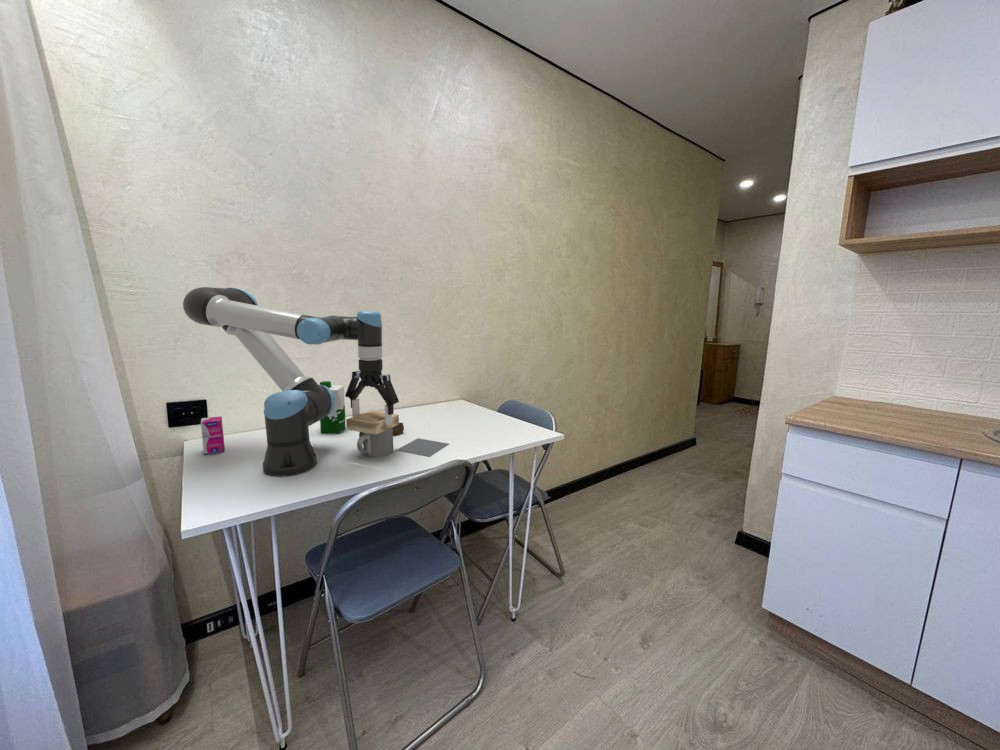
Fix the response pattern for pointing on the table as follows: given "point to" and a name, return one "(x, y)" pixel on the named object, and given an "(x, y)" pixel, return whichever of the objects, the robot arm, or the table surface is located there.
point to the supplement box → (212, 435)
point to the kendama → (396, 430)
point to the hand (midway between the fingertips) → (372, 420)
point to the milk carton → (334, 411)
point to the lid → (371, 422)
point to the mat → (423, 447)
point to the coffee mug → (376, 443)
